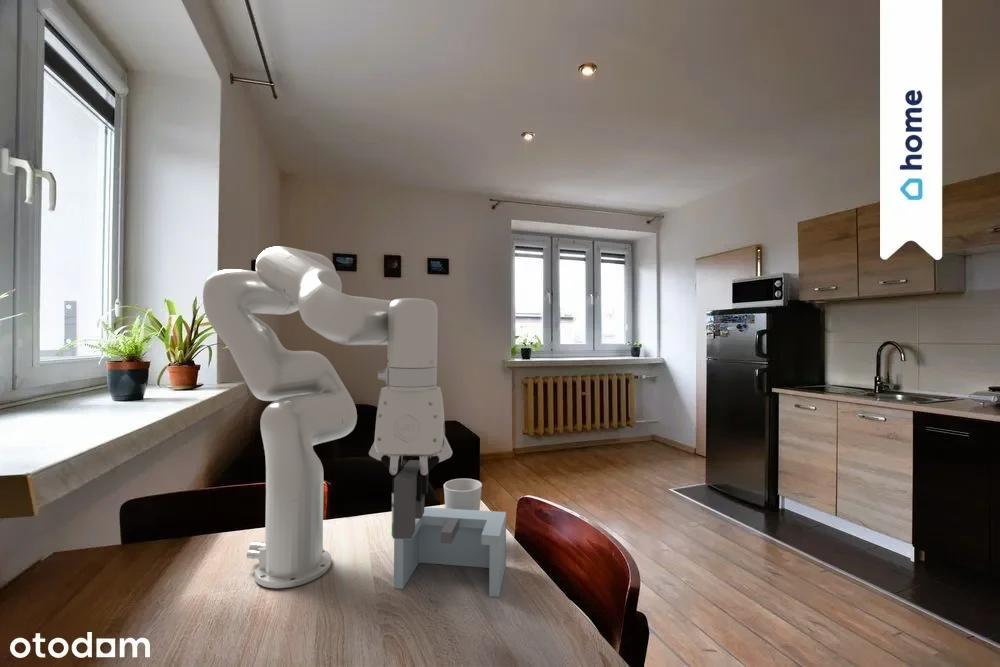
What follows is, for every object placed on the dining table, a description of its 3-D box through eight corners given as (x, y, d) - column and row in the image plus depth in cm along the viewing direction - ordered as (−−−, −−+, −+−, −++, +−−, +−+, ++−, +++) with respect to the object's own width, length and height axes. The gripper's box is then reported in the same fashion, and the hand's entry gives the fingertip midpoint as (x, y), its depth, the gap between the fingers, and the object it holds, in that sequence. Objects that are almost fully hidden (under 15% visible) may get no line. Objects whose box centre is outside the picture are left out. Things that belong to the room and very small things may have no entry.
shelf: (393, 588, 74) (394, 529, 74) (412, 558, 84) (413, 506, 84) (498, 597, 72) (499, 536, 72) (505, 565, 81) (506, 512, 82)
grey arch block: (411, 539, 62) (412, 479, 62) (393, 538, 62) (394, 478, 62) (424, 512, 72) (425, 460, 72) (408, 511, 72) (409, 460, 72)
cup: (475, 553, 86) (476, 492, 86) (437, 549, 88) (438, 489, 88) (485, 535, 94) (485, 479, 94) (449, 532, 95) (450, 477, 95)
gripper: (351, 380, 64) (349, 506, 63) (461, 382, 63) (459, 509, 63) (367, 375, 71) (365, 488, 71) (466, 377, 71) (464, 490, 71)
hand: (410, 497), depth 67 cm, fingers closed on grey arch block, 2 cm apart
